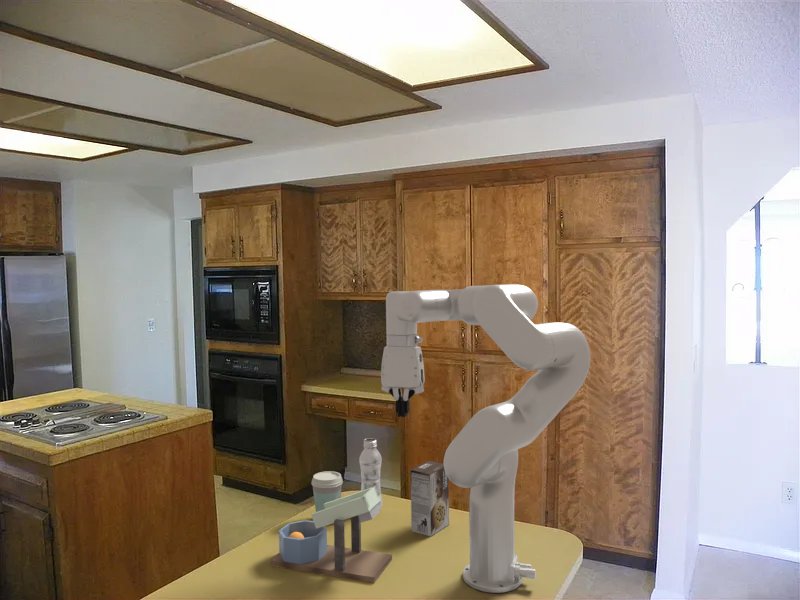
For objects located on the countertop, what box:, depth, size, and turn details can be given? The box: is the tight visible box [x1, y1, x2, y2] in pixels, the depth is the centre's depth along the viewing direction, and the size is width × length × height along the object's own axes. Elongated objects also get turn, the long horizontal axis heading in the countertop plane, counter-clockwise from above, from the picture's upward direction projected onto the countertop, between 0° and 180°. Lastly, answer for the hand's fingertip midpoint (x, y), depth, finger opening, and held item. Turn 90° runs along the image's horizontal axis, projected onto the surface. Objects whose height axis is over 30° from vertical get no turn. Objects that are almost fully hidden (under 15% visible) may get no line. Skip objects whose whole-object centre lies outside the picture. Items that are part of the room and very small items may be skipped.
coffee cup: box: [310, 470, 344, 512], centre depth 159 cm, size 8×9×12 cm
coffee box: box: [410, 460, 450, 537], centre depth 153 cm, size 9×6×16 cm
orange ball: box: [289, 532, 304, 539], centre depth 138 cm, size 4×4×4 cm
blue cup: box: [278, 519, 328, 564], centre depth 137 cm, size 10×10×6 cm
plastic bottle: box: [358, 437, 384, 510], centre depth 165 cm, size 6×7×20 cm
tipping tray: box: [310, 486, 382, 529], centre depth 136 cm, size 14×13×5 cm
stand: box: [269, 515, 393, 584], centre depth 134 cm, size 26×11×12 cm, turn 71°
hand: (402, 415), depth 145 cm, fingers closed
